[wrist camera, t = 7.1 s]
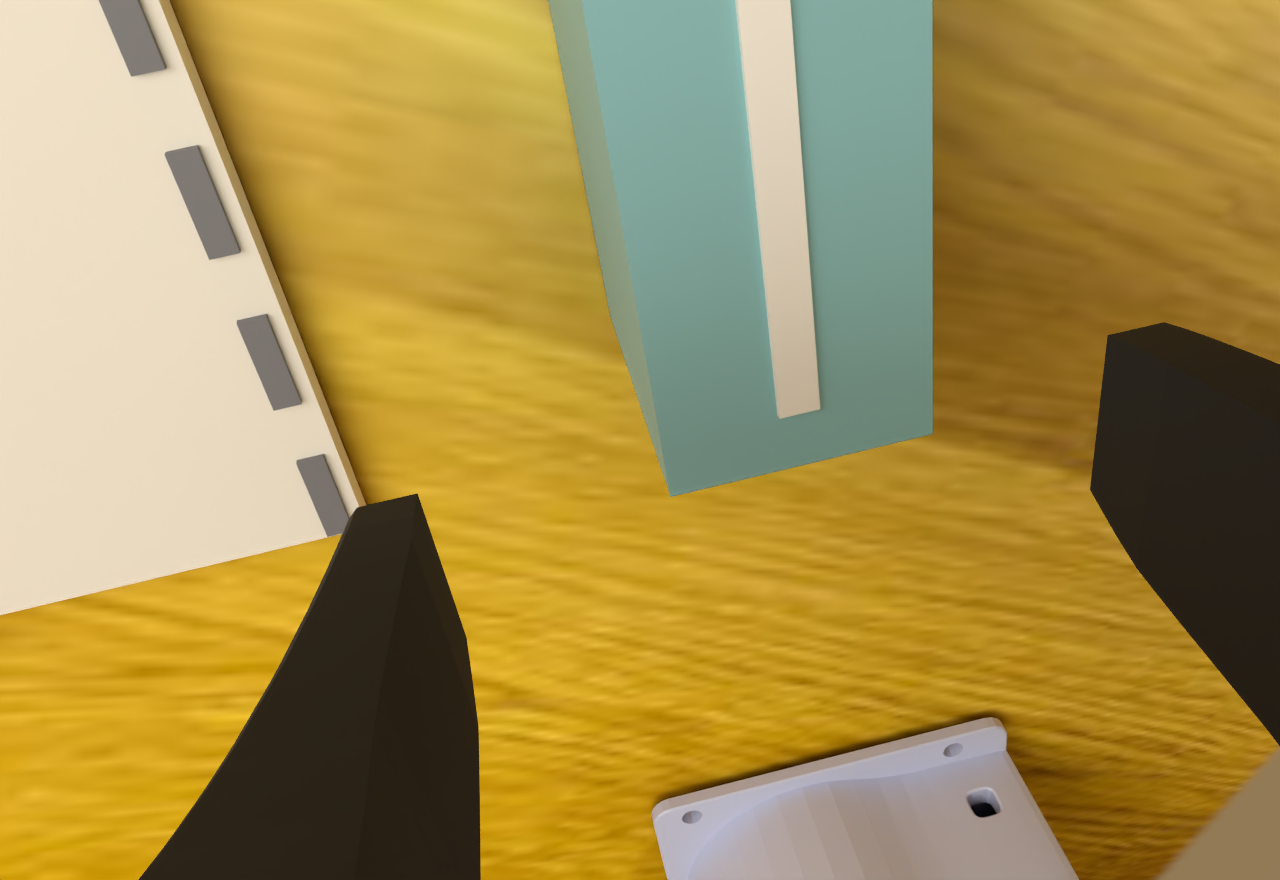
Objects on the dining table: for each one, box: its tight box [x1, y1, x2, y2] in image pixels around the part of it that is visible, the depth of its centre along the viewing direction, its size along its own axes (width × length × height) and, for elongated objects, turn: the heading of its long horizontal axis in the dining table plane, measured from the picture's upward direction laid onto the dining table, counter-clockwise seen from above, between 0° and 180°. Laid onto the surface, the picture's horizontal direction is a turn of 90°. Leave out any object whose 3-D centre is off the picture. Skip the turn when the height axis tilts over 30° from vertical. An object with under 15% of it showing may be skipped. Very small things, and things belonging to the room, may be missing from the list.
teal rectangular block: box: [548, 0, 933, 497], centre depth 16 cm, size 4×8×6 cm, turn 9°
